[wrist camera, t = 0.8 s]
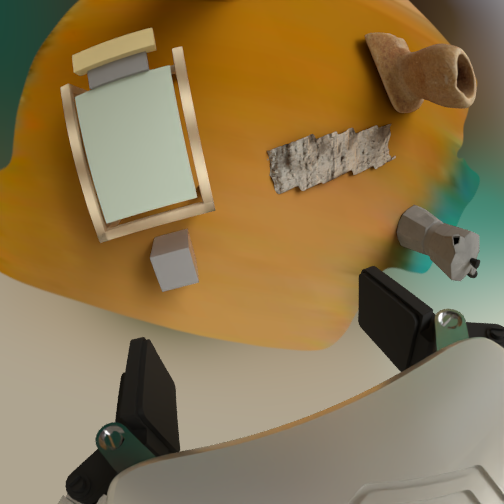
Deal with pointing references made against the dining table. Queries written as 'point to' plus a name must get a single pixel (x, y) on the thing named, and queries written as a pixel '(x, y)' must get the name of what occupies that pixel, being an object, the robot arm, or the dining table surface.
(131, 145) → the trapdoor
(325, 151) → the stone fragment
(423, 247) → the coffeepot
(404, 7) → the dining table surface
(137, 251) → the dining table surface
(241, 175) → the dining table surface
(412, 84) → the stone cup
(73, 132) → the trapdoor frame
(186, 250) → the granite block
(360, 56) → the dining table surface
